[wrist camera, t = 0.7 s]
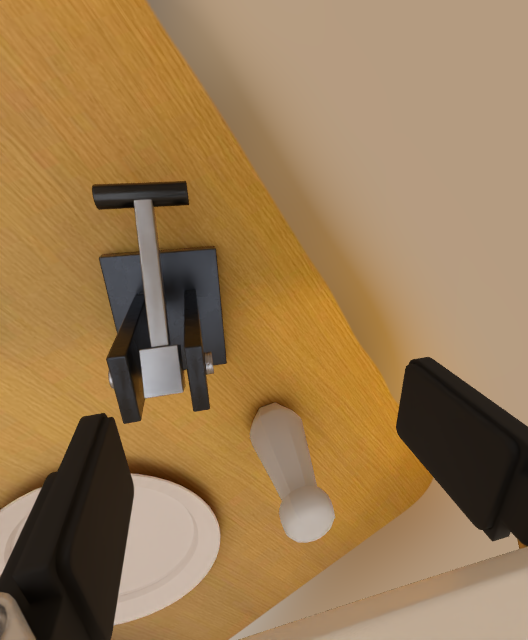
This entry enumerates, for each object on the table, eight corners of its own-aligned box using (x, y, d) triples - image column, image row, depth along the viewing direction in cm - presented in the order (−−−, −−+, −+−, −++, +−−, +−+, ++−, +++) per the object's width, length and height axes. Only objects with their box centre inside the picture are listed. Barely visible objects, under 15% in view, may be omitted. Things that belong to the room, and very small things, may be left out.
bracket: (102, 254, 26) (43, 303, 15) (214, 245, 27) (233, 284, 17) (129, 371, 30) (99, 473, 19) (225, 357, 32) (245, 444, 21)
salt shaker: (297, 392, 35) (352, 495, 24) (295, 433, 38) (345, 544, 26) (245, 400, 34) (276, 512, 23) (246, 441, 36) (275, 562, 25)
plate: (258, 497, 40) (262, 512, 39) (151, 620, 45) (150, 638, 43) (48, 425, 30) (39, 440, 28) (-62, 593, 35) (-75, 616, 33)
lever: (100, 194, 21) (87, 175, 18) (187, 190, 22) (185, 172, 19) (123, 396, 20) (113, 403, 18) (210, 382, 21) (211, 387, 19)
